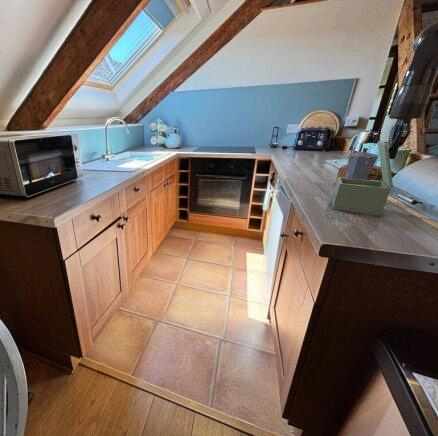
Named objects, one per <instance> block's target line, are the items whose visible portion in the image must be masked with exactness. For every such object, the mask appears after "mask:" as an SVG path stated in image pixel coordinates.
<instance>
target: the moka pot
mask: <svg viewBox="0 0 438 436" xmlns="http://www.w3.org/2000/svg"><path fill="white" fill-rule="evenodd" d="M368 150H369V148H367V147H364V148H362V151H357V150H356V149H355V150H353V152H350V153H349V154H348V160H347V164H348V166H347V173H346V177H345V178H352V179H363V180H366V178H367V176H368V175H369V174H370V172H371V170H372V168H373V166H375V164H376V162H377V160H378V159H379V156H378V155H379V154H375V153H372V152H367V151H368Z"/></svg>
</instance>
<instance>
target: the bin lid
mask: <svg viewBox="0 0 438 436" xmlns="http://www.w3.org/2000/svg"><path fill="white" fill-rule="evenodd" d="M388 145H389V144H388V142H385V141H383V140H378V141H377V147H378V148H377V149H378V153H379V154H378V155H379V156H378V157H379V162H380V167H381V171H382V178H383V181H384V182H385V183H386V184H387V185H388V186H389V187H390V188H394V182H393V177H392V174H391V171H392V168H391V167H392V166H391V159H390V158H389V150H388V149H389V147H388Z"/></svg>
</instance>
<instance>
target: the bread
mask: <svg viewBox="0 0 438 436" xmlns="http://www.w3.org/2000/svg"><path fill="white" fill-rule="evenodd" d="M347 166H348V163H347V164H344V165H342V166H340V167H339V168H338V171H337V173H336V180H335V181H336V182H337V179H338V177H340V178H345V177H346V173H347ZM391 174H392V178H393V177H394V171H393V170H391ZM366 180H375V181H383V178H382V171H381V165H374V166H373V168H372V170H371V172H370V174H369V175H368V176H367V178H366Z"/></svg>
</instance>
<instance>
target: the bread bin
mask: <svg viewBox="0 0 438 436" xmlns="http://www.w3.org/2000/svg"><path fill="white" fill-rule="evenodd" d="M336 180H337V181H336V182H335V183H336V184H335V187H334V190H333V194H332V197H331V208H332V210H336V211H341V212H342V211H343V212H350V213H357V214H364V215H371V216H378V217H381V216H382V214H383V211H384V208H385V206H386V203H387V200H388V198H389V195H390V193H391V190H392V187H389V186H388V185H387V184H386V183H385V182H384V181H375V180H363V179H352V178H340V177H338V179H337V178H336Z"/></svg>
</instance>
